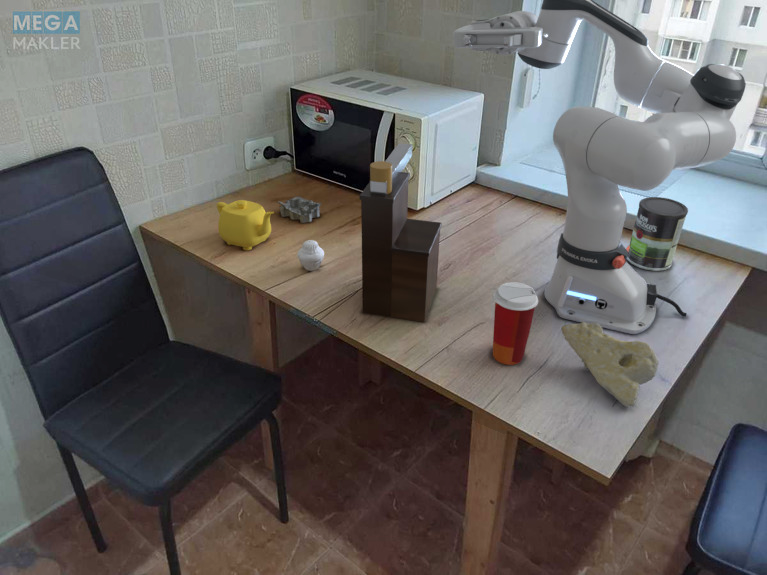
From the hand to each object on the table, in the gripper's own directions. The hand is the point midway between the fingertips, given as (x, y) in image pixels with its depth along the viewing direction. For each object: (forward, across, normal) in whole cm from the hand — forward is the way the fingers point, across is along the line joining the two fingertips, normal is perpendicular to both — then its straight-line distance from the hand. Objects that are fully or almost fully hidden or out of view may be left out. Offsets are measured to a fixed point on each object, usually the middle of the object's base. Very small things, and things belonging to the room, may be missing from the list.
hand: (486, 41), depth 133 cm
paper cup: (+43, -21, -50) cm, 69 cm away
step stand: (+36, +5, -47) cm, 60 cm away
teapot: (+31, +50, -43) cm, 73 cm away
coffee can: (-8, -39, -50) cm, 64 cm away
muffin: (+34, +29, -45) cm, 63 cm away
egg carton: (+12, +48, -42) cm, 65 cm away
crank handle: (+33, +7, -20) cm, 39 cm away
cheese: (+42, -37, -51) cm, 76 cm away
